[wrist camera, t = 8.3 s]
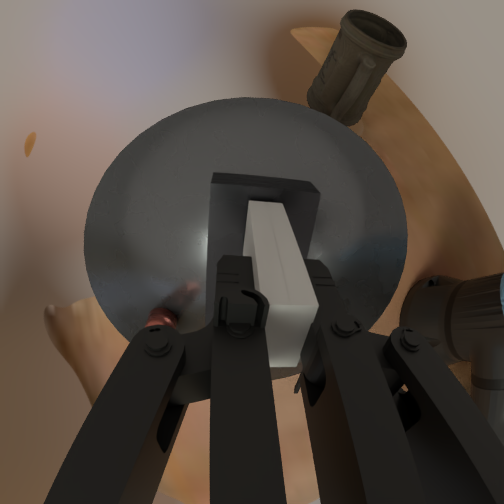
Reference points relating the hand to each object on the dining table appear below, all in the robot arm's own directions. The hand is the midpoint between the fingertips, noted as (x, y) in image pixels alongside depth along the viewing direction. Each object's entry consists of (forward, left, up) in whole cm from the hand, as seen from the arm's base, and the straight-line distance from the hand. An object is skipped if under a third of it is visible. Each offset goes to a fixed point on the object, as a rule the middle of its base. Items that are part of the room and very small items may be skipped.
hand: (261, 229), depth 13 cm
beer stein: (-5, -34, -25) cm, 43 cm away
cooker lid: (0, +1, -6) cm, 6 cm away
